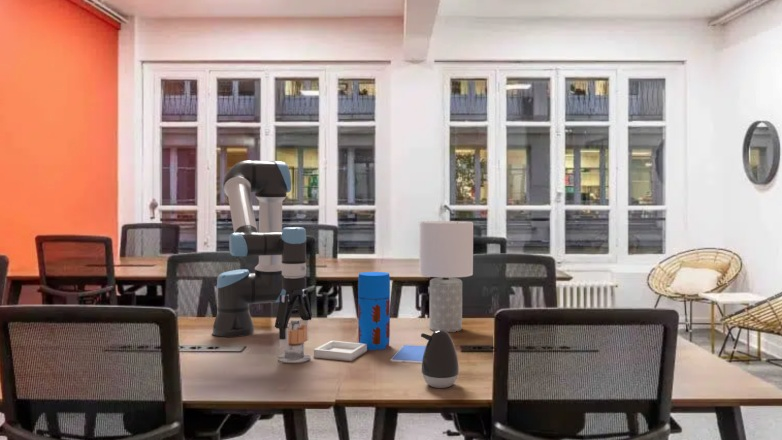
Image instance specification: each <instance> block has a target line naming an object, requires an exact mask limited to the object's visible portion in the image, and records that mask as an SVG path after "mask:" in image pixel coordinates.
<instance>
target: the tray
mask: <svg viewBox="0 0 782 440" xmlns="http://www.w3.org/2000/svg"><path fill="white" fill-rule="evenodd" d="M366 352H368V349H367V344H363V343H359V342H351V341H349V342H348V341H341V340H330V341H328V342H326V343H324V344H321V345H320V346H317V347H315V348H313V358H318V359H328V360H338V361H347V362H352V361H354V360H355V359H357V358H358V357H360V356H362V355H363V354H365V353H366Z"/></svg>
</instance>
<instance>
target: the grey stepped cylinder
mask: <svg viewBox="0 0 782 440" xmlns="http://www.w3.org/2000/svg"><path fill="white" fill-rule="evenodd" d="M288 329H289V330H297V329H300V320H293V319H291V320H290V321H289V322H288ZM288 348H289V349H288V350H284V353H283V354H280V355H279V356H278V357H277V361H278V362H279V363H282V364H291V365H293V364H295V365H297V364H304V363H306V362H309V361H310V360H311V355H310V354H308V353H305V342H304V343H297V344H288Z"/></svg>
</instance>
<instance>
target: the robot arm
mask: <svg viewBox="0 0 782 440" xmlns="http://www.w3.org/2000/svg"><path fill="white" fill-rule="evenodd" d="M222 183H223V184H222V185H223V192H224V194H225V195H226V196H227V199H228V204H229V205H228V206H229V209H230V216H231V222H232V228H233V232H232V233H230V234H229V237H228V240H229V241H228V243H229V244H228V246H229V253H230V255H231V256H232V257H257V256H258V263H257V265H256V266H255V267H254V272H250V271H249V269H245V268H242V269H233V270H229V271H224V272H221V273H219V275H218V276H217V279H216V280H217V282H216V289H217V290H216V291H217V292H216V295H217V296H216V297H217V300H216V301H217V302H216V304H217V307H216V309H217V312H216V316H215V319H214V321H213V322H214V323H213V325H212V335H214V336H216V337H226V338H233V337H234V338H235V337H242V336H243V337H244V336H248V335H251V334H253V333H254V332H255V325H254V322H253V319H252V315H251V313H250V305H255V304H257V305H258V304H269V303H271V304H275V303H278V309H277V312H276V319H275V323H274V328H276V329H278V330H279V331H278V332H279V333H278V334H279V339H278V340H279V341H278V342H279V350H283V351H285V350H288V349H289V348H288V328H287V325H288V323H290V319H291V315H292V313H293V311H294V310H295V309H297V312H298V315H299V316H300V320H299V321H300V325H301V326H302V325H306V327H307V341H306V342H308V341H309V321H311V320H312V316H313V313H312V312H313V311H312V309H311V304H310V300H309V299H310V298H309V293H308V292H309V291H308V289H306V288H307V277H306V275H307V268H308V267H307V232H306V231H307V230H306V228H304V227H300V226H292V227H291V226H290V227H289V226H288V227H283V202H284V200H285V199H286V198H287V193H290V192H291V191H292V176H291V171H290V168H289V166H288V164H287V163H286V162H285V161H279V160H250V159H249V160H243V161H239V162H237V163H235V164H234V165H233V166H231V167H230V169H228V171H227V172H226V173H225V176H224V177H223V182H222ZM250 193H254V195H255V196H254V197H255V198H256V199H257V200H258V206H259V207H258V208H259V209H258V215H259V216H258V223H259V224H258V227H257V221H256V217H255V212H254V207H253V202H252V197H251V194H250Z"/></svg>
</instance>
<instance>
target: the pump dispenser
mask: <svg viewBox="0 0 782 440" xmlns="http://www.w3.org/2000/svg"><path fill="white" fill-rule="evenodd" d="M420 336H421V338H423V339H425V340H427V342H426V345H425V346H426V348H425V351H424V355H423V360H422V364H421V374H422V377H423V379H424V381H425V383H426V384H427V385H429V386H430V387H433V388H436V389H446V388H448V387H451V386H452V385H454V383H455V382H456V381H457V378H458V375H459V373H460V367H459V366H460V365H459V359H458V354H457V350H456V346H455V344H454V342H453V339H452V337H451V335H450V334H449V332H446V331H444V330H437V331H433V332H432V334H431V335H430V334H427V333H423V332H422V333H421V334H420Z"/></svg>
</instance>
